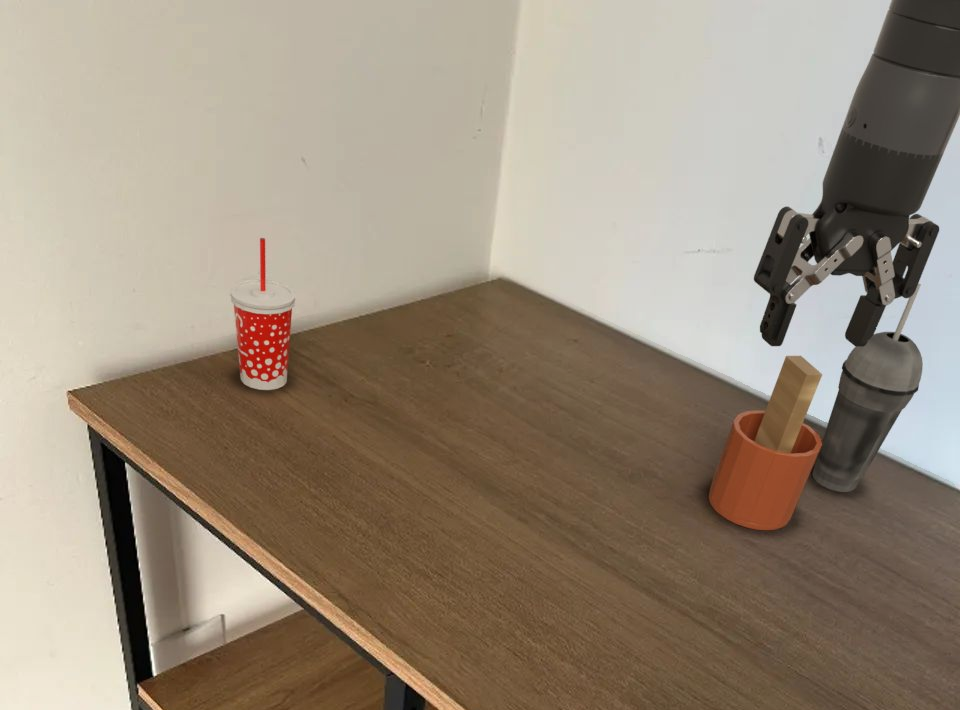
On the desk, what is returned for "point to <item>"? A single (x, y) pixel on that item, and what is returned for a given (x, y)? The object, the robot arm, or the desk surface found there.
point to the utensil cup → (761, 475)
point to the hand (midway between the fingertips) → (813, 342)
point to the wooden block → (788, 404)
